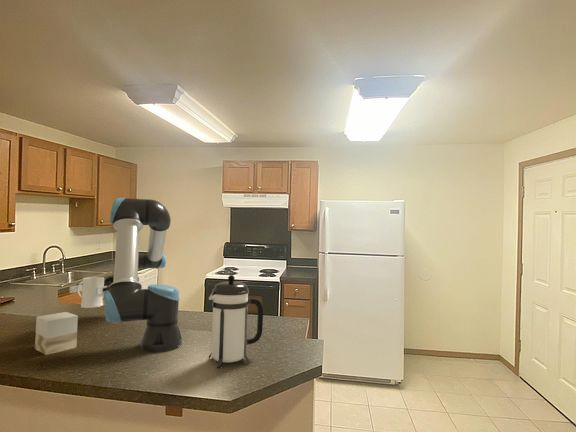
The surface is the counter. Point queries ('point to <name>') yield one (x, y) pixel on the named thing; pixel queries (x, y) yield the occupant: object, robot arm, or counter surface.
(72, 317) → the tower top
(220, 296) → the coffee press
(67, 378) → the counter surface
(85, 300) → the mug
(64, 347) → the block
